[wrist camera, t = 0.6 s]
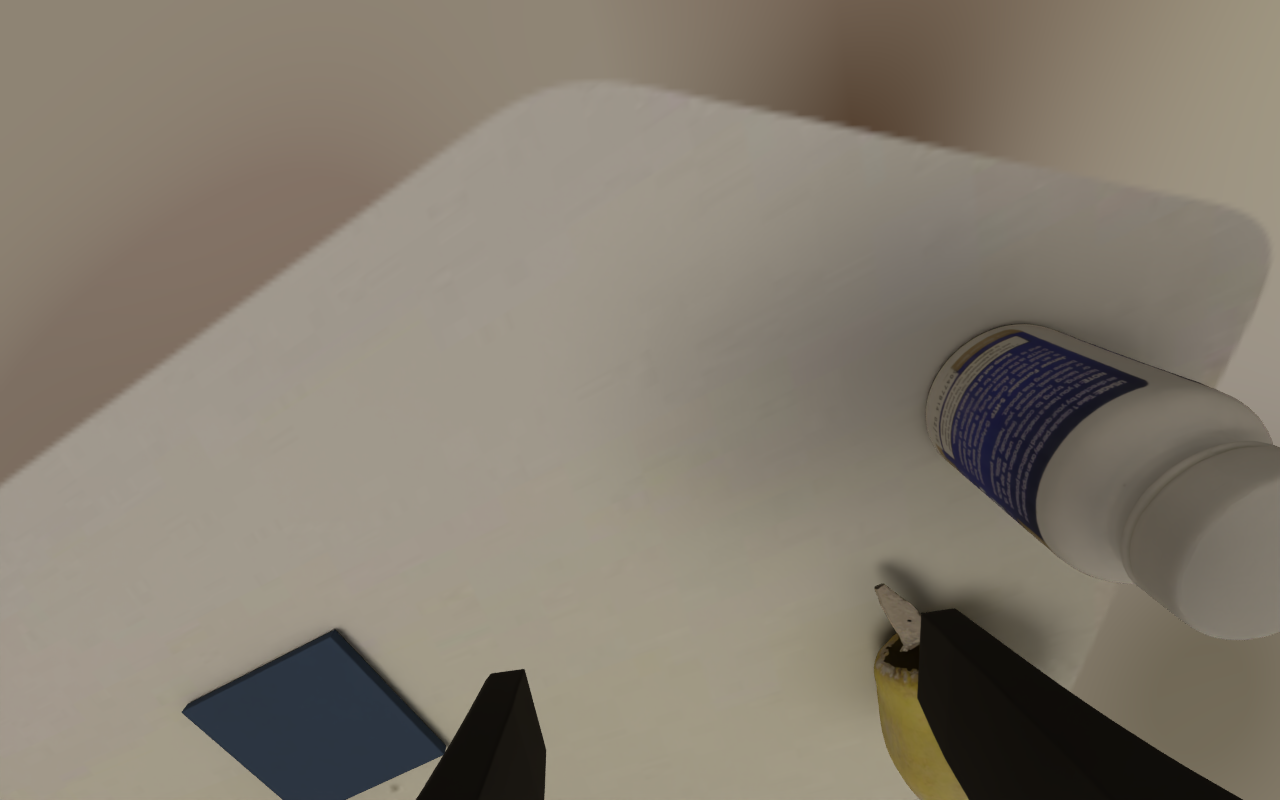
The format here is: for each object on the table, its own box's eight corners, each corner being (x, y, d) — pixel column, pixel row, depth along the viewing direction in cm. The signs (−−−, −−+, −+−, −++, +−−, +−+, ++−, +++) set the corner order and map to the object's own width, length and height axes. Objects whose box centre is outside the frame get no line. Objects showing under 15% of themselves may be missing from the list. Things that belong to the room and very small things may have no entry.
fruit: (940, 522, 22) (1081, 707, 23) (799, 582, 25) (934, 743, 26) (974, 647, 17) (1151, 871, 18) (791, 704, 19) (959, 894, 21)
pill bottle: (910, 472, 21) (1109, 674, 13) (933, 324, 19) (1184, 446, 11) (1060, 465, 21) (1353, 659, 13) (1097, 317, 19) (1470, 433, 11)
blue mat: (447, 746, 24) (444, 754, 24) (309, 809, 25) (304, 819, 25) (335, 628, 22) (330, 636, 22) (187, 703, 23) (180, 712, 23)
